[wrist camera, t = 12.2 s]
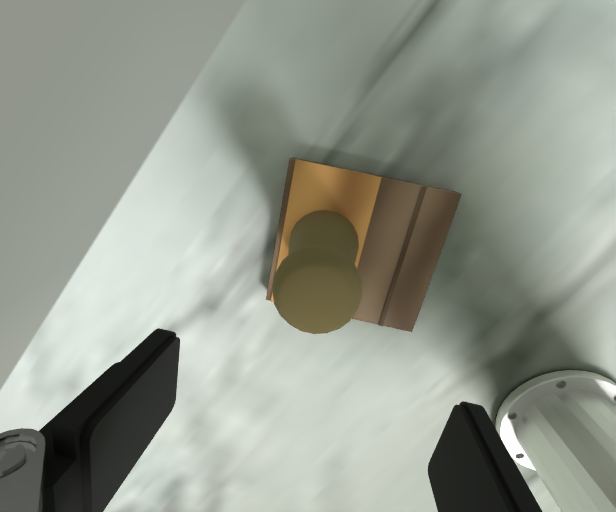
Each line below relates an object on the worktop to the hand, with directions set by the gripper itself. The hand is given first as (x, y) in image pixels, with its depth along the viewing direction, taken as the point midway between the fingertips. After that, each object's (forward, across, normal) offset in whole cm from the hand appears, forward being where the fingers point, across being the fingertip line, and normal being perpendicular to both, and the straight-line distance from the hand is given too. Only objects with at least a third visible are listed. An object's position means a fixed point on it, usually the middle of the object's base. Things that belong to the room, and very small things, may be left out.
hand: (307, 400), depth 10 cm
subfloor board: (+19, -2, 0) cm, 19 cm away
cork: (+18, +1, 0) cm, 18 cm away
